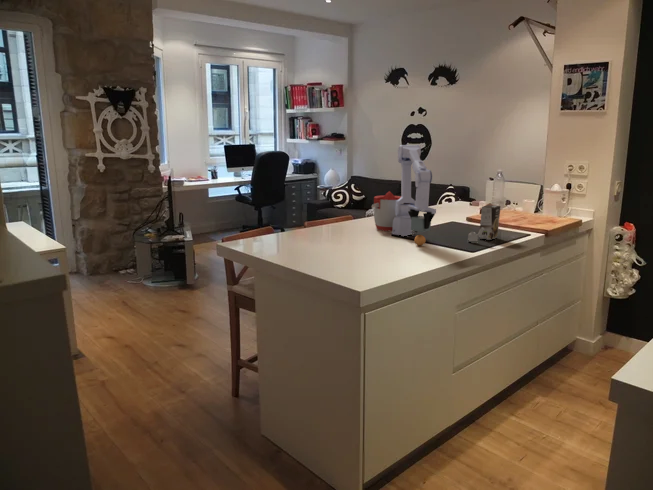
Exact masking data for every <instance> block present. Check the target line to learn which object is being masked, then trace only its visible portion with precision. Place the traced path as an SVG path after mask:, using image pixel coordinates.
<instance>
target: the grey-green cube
mask: <svg viewBox="0 0 653 490" xmlns="http://www.w3.org/2000/svg"><path fill="white" fill-rule="evenodd" d="M431 225H432V221H431V222H430V225H429V228H428V229H425V228H424V215H418V216H415V217H411V230H412V232H413V231H414V232H418V233H425V232H430V231H431Z"/></svg>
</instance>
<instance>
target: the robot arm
mask: <svg viewBox="0 0 653 490" xmlns="http://www.w3.org/2000/svg"><path fill="white" fill-rule="evenodd" d="M421 153H422V150H421V145H419V144H415V145H414V144H408V145H407V144H400V145H399V146H398V149H397V162H398V163H399V164H400V166H401V167H400V168H401V173H400V174H401V175H400V176H401V179H400V180H401V181H400V184H401V185H400V186H401V187H400V188H401V191H400V192H401V193H400V194H401V195H400V197H401V198H400V199H398V200H397V201H396V205H395V215H396V217H395V218H394V220H393V230H392V231H391V235H396V236H399V235H401V236H400V237H404V236H407V235H410V234H412V233H413V230H411V217H415V216H419V213H420V212H422V213H423V214H422V216H424V228H425V229H428V228H429V225H430V222H431V223H432V221H433V218H434V216H435V215H436V214H437V209H436V208H432V207H429V200H430V199H429V198H430V185H431V183H432V181H433V172H432V170H431V169H427V165H426V163H425V162H424V161H423V160H422V159H421ZM412 170H413V173H414V181H415V182H414V183H415V188H416V189H415V190H416V192H415V199H414V198H413V197H412ZM401 203H404V204H401ZM407 237H408V236H407Z"/></svg>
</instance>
